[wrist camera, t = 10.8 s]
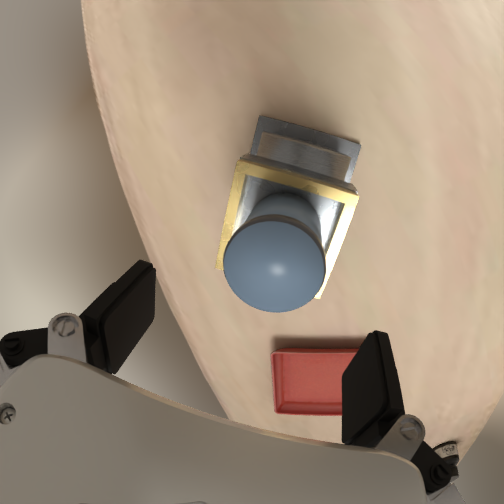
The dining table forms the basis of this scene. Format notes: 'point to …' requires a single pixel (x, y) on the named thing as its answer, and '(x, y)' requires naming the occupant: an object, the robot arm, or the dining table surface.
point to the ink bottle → (449, 457)
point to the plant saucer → (309, 380)
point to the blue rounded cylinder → (277, 255)
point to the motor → (296, 180)
